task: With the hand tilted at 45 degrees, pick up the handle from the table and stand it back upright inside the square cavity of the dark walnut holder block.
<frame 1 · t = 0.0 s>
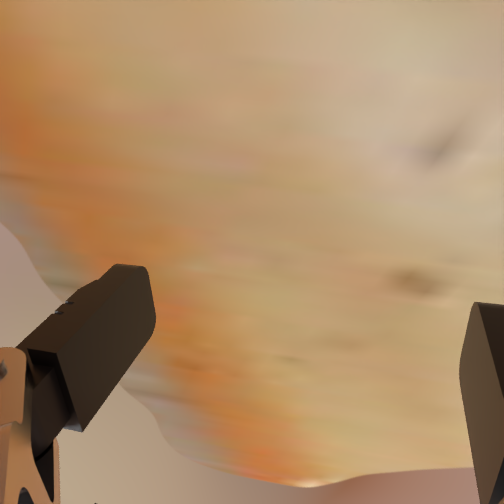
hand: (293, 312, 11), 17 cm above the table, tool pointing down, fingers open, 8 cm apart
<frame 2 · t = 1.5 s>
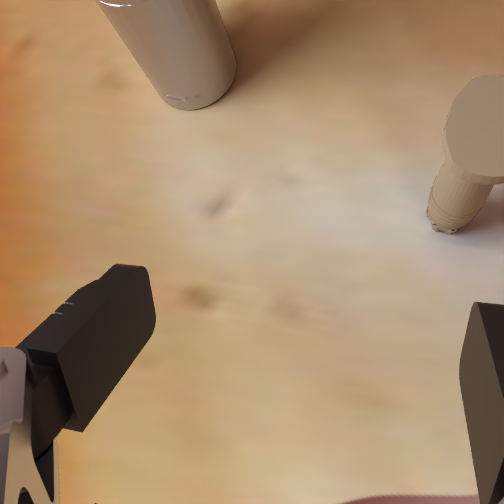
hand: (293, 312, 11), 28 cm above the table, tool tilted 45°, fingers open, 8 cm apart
handle: (445, 218, 40), on the table
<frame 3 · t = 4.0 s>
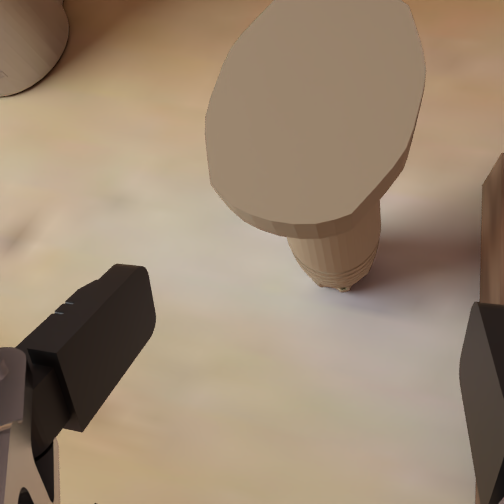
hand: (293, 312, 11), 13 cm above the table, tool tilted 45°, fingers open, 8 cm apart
handle: (338, 265, 25), on the table
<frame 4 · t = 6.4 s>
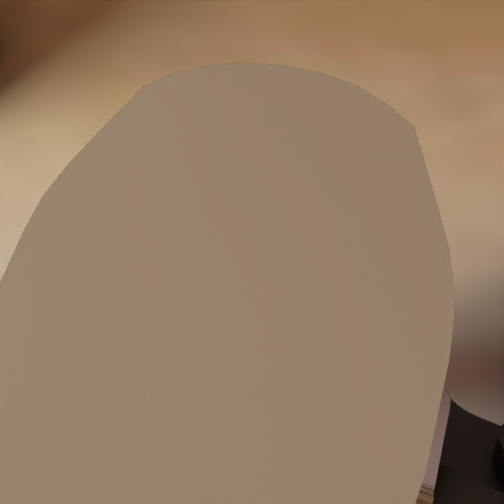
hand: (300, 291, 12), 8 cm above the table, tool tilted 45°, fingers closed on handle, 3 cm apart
handle: (317, 377, 19), on the table, touching gripper
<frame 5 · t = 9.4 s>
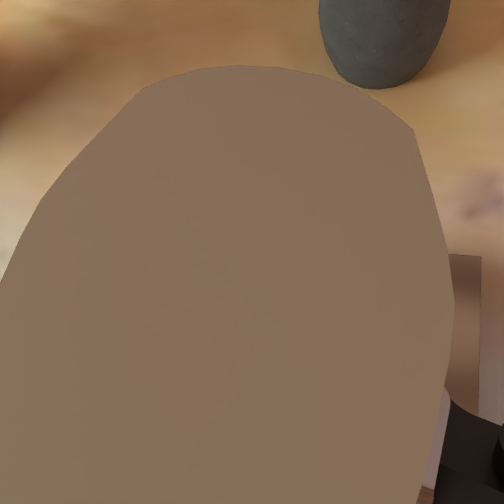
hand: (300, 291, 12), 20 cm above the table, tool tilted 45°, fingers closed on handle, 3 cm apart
handle: (317, 378, 19), point 12 cm above the table, touching gripper
bottle: (379, 48, 37), on the table
holder: (334, 375, 30), on the table
when the fingers open (9 cm above the table, at t = 12.4 s): handle drops 1 cm, resting in holder.
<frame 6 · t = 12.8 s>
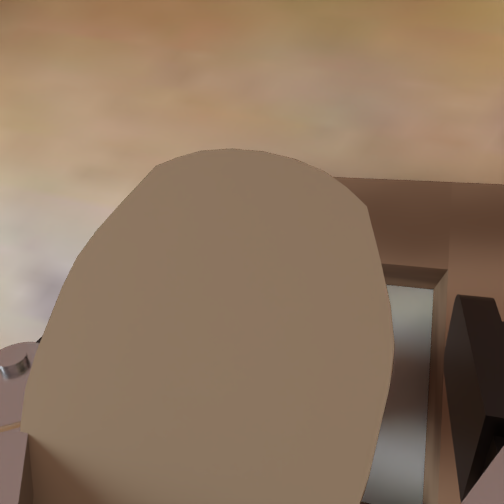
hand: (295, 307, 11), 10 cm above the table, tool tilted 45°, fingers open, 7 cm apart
handle: (318, 383, 20), resting in holder
holder: (319, 378, 20), on the table
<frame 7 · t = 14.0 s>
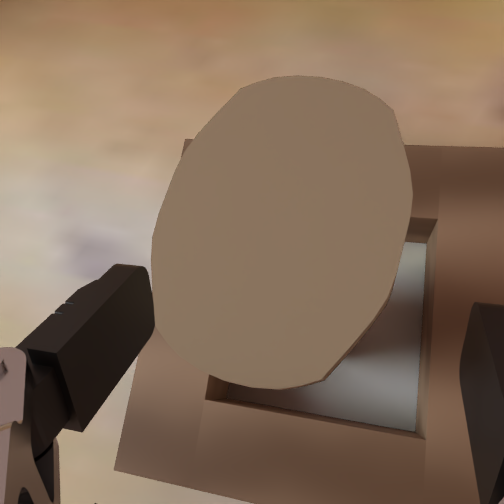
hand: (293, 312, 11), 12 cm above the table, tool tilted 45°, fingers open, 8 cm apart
handle: (325, 325, 23), resting in holder
holder: (326, 320, 23), on the table
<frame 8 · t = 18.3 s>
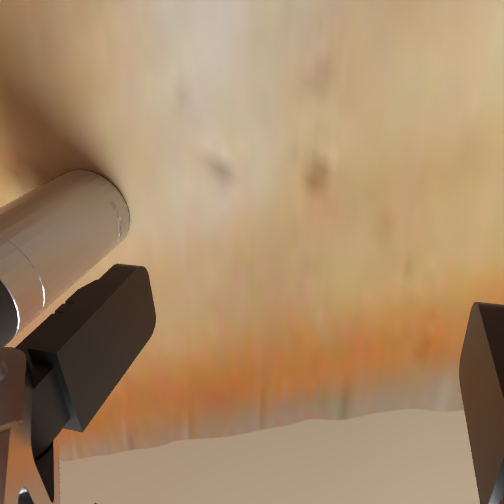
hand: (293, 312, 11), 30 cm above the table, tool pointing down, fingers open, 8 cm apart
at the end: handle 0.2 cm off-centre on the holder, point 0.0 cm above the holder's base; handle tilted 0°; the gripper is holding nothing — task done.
